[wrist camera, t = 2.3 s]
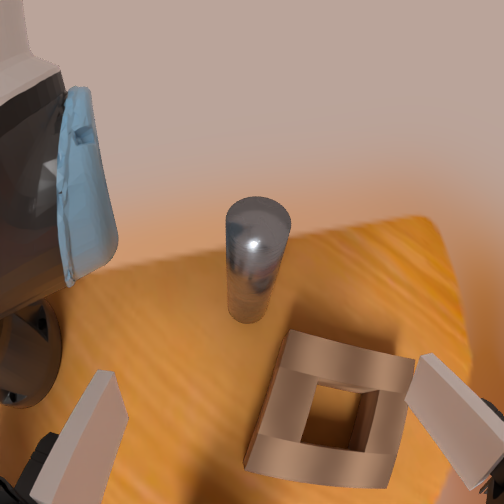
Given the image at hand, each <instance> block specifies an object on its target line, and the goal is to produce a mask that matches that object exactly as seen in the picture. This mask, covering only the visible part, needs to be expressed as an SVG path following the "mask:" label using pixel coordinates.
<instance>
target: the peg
mask: <svg viewBox="0 0 504 504" xmlns="http://www.w3.org/2000/svg"><path fill="white" fill-rule="evenodd" d="M290 229H291V219H290V216H289V214H288V212H287V211H286V209H285V208H284V207H283V206H282V205H280V204H279V203H278V202H276V201H274V200H272V199H269V198H264V197H248V198H244V199H242V200H239V201H237V202H236V203H235V204H233V205H232V206H231V208H230V209H229V210H228V212H227V215H226V262H227V295H228V310H229V313H230V314H231V316H232V317H233V318H234V319H235V320H237V321H238V322H241V323H245V324H250V323H254V322H257V321H259V320H260V319H261V318H262V317H263V316H264V314H265V312H266V309H267V306H268V303H269V299H270V296H271V293H272V290H273V286H274V283H275V280H276V277H277V273H278V270H279V267H280V263H281V260H282V257H283V253H284V250H285V246H286V243H287V240H288V236H289V233H290Z"/></svg>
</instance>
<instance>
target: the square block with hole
mask: <svg viewBox="0 0 504 504" xmlns="http://www.w3.org/2000/svg"><path fill="white" fill-rule="evenodd" d="M414 365H415V360H414V359H409V358H404V357H399V356H395V355H390V354H386V353H381V352H377V351H373V350H368V349H364V348H360V347H356V346H352V345H348V344H344V343H340V342H336V341H332V340H329V339H325V338H321V337H317V336H314V335H310V334H306V333H303V332H299V331H296V330H292V329H290V330H289V332H288V333H287V335H286V336H285V338H284V339H283V341H282V345H281V348H280V352H279V355H278V358H277V362H276V365H275V368H274V371H273V375H272V378H271V381H270V384H269V387H268V391H267V394H266V397H265V400H264V403H263V406H262V409H261V412H260V415H259V418H258V421H257V424H256V427H255V430H254V433H253V436H252V438H251V441H250V444H249V447H248V450H247V452H246V455H245V458H244V461H243V465H244V470H245V471H248V472H252V473H257V474H261V475H265V476H270V477H274V478H279V479H285V480H290V481H296V482H302V483H309V484H317V485H325V486H335V487H349V488H376V489H385V488H387V486H388V483H389V480H390V476H391V473H392V470H393V467H394V463H395V460H396V456H397V453H398V449H399V445H400V441H401V437H402V433H403V429H404V424H405V420H406V415H407V410H408V405H407V403H406V402H405V401H404V400H405V397H406V395H407V392H408V390H409V387H410V384H411V382H412V379H413V373H414ZM317 384H318V385H322V386H326V387H331V388H335V389H340V390H345V391H350V392H355V393H360V394H362V395H361V400H360V404H359V408H358V412H357V416H356V420H355V424H354V428H353V432H352V435H351V439H350V442H349V446H348V449H345V448H338V447H331V446H325V445H319V444H313V443H308V442H302V441H301V437H302V434H303V431H304V428H305V425H306V421H307V418H308V415H309V411H310V408H311V404H312V401H313V397H314V393H315V390H316V386H317Z"/></svg>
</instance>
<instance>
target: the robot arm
mask: <svg viewBox="0 0 504 504" xmlns="http://www.w3.org/2000/svg"><path fill="white" fill-rule="evenodd" d="M117 246H118V232H117V227H116V223H115V219H114V215H113V211H112V206H111V202H110V198H109V193H108V189H107V185H106V180H105V175H104V170H103V165H102V160H101V155H100V149H99V143H98V137H97V131H96V125H95V119H94V113H93V106H92V98H91V91H90V90H89V89H88V88H87V87H77V86H74V87H72V88H70V89H69V91H68V92H67V91H66V90H65V86H64V82H63V79H62V75H61V70H60V67H59V65H56V64H53V63H51V62H49V61H46V60H44V59H41V58H39V57H36V56H34V55H33V53H32V52H31V50H30V48H29V42H28V37H27V31H26V24H25V17H24V9H23V0H0V404H3V405H6V406H10V407H15V408H28V407H31V406H33V405H35V404H37V403H38V402H40V401H41V400H42V399H43V398H44V397H45V396H46V394H47V393H48V392H49V390H50V389H51V387H52V385H53V383H54V381H55V378H56V376H57V373H58V369H59V365H60V358H61V334H60V328H59V324H58V320H57V317H56V315H55V313H54V311H53V309H52V307H51V306H50V304H49V303H48V302H47V301H46V300H45V299H44V297H46V296H48V295H50V294H52V293H54V292H57V291H59V290H61V289H63V288H65V287H72V286H73V285H74V284H75V281H76V280H78V279H80V278H82V277H83V276H85V275H87V274H89V273H91V272H93V271H95V270H97V269H98V268H100V267H102V266H104V265H105V264H107V263H108V262H109V261H110V260H111V259H112V258H113V256H114V253H115V252H116V250H117ZM404 401H405V402H406V403H407V405H408V406H409V407H410V409H411V410H412V411H413V413H414V414H415V415H416V417H417V418H418V419H419V421H420V422H421V423H422V425H423V426H424V427H425V429H426V430H427V432H428V433H429V434H430V436H431V437H432V438H433V440H434V441H435V443H436V444H437V445H438V447H439V448H440V449H441V451H442V452H443V454H444V455H445V457H446V458H447V459H448V461H449V462H450V464H451V465H452V466H453V468H454V469H455V471H456V472H457V474H458V475H459V476H460V478H461V479H462V481H463V482H464V484H465V485H466V487H467V488H468V490H469V491H470V490H472V489H473V488H475V487H476V486H478V485H479V484H481V483H482V482H483V481H484V480H485V479H486V478H487V477H488V476H489V474H490V475H491V476H492V477H491V478H490V479H489V480H488V481H487V483H486V484H485V485H484V486H483V487H482V488H481V489H480V492H479V493H480V494H481V493H482V492H483V491H484V490H485V489H486V488H487V487H488V489H487V490H486V491H485V492H484V494H487V501H486V504H504V416H503V414H502V413H501V412H500V411H498V409H497V408H496V407H495V406H494V405H493V404H492V403H491V402H489V401H487V400H485V399H483V398H481V399H480V398H479V397H478V396H477V395H476V394H475V393H474V392H473V391H472V390H471V389H470V388H469V387H468V386H467V385H466V384H465V383H464V382H463V381H462V380H461V379H460V378H459V377H457V376H456V375H455V374H454V373H453V372H452V371H451V370H450V369H449V368H448V367H447V366H446V365H445V364H444V363H443V362H442V361H440V360H439V359H438V358H437V357H436V356H435V355H434V354H433V353H430V354H426V355H421V356H420V358H419V362H418V365H417V367H416V370H415V373H414V376H413V379H412V382H411V384H410V387H409V390H408V392H407V395H406V397H405V400H404ZM128 420H129V417H128V414H127V411H126V408H125V405H124V402H123V399H122V396H121V393H120V390H119V387H118V383H117V380H116V377H115V373H114V372H112V371H104V370H97V372H96V373H95V375H94V377H93V378H92V380H91V382H90V383H89V385H88V386H87V388H86V390H85V391H84V393H83V395H82V396H81V398H80V400H79V402H78V403H77V405H76V407H75V408H74V410H73V412H72V414H71V415H70V417H69V419H68V421H67V422H66V424H65V426H64V428H63V429H62V431H61V433H60V435H58V434H55V433H52V432H50V433H48V434H47V435H46V436H45V437H43V438H42V439H41V440H40V442H39V443H38V445H37V447H36V449H35V452H33V454H32V456H31V459H29V461H28V463H27V465H26V467H25V468H24V470H23V472H22V474H21V476H20V478H19V480H18V482H17V484H16V486H15V487H14V488H13V487H12V486H11V485H10V484H9V483H8V482H7V481H6V480H5V479H4V478H3V477H1V476H0V504H101V501H102V498H103V495H104V491H105V488H106V485H107V482H108V478H109V475H110V472H111V469H112V466H113V463H114V460H115V457H116V454H117V451H118V448H119V445H120V442H121V439H122V436H123V434H124V431H125V428H126V425H127V422H128Z"/></svg>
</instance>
